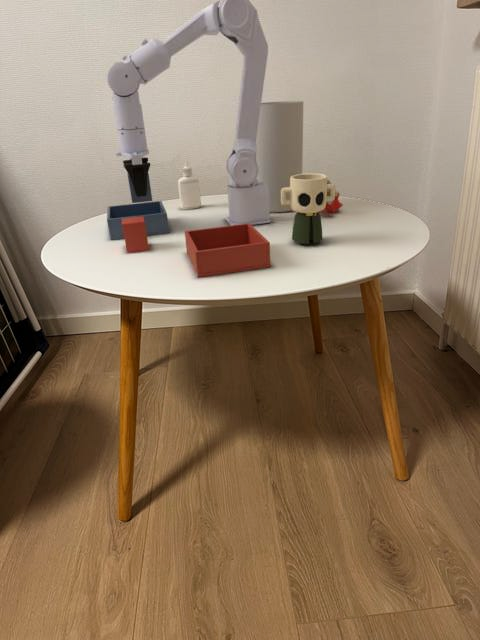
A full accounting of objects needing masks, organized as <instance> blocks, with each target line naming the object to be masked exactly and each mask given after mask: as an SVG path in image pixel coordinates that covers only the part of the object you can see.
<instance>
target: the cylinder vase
mask: <svg viewBox="0 0 480 640" xmlns="http://www.w3.org/2000/svg"><path fill="white" fill-rule="evenodd" d="M303 145H304V100H288V101H287V100H286V101H285V100H284V101H269V102H261V108H260V115H259V123H258V130H257V138H256V148H257V154H256V162H257V165H258V176H257V178H256V179H257V180H258V182H265V183H266V184H267V186H268V190H269V206H270V213H287V212H292V211H293V210H292V209H291V207H290V205H282V204H281V189H282V188H287V187H290V177H291V176H293V175H297V174H303V153H304V152H303V150H304V149H303V148H304V147H303ZM286 200H290V192H288V193H286Z"/></svg>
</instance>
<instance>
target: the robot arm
mask: <svg viewBox="0 0 480 640" xmlns="http://www.w3.org/2000/svg"><path fill="white" fill-rule="evenodd" d="M219 4H220V5H219ZM219 33H220V34H221V35H223V36H224V37H225V38H227V39H228V40H230V42H232V43H234V45H235V46H236V48H237V49H238V50H239V52H240V54H241V55H242V56H243V62H242V63H243V64H242V70H241V71H242V72H241V80H240V89H239V96H238V105H237V116H236V125H235V132H234V139H233V142H232V149H231V153H230V154H229V156H228V157H227V160H226V171H227V172H228V174H229V176H230V178H229V180H228V181H227V182H226V185H227V201H228V203H227V204H228V216H225V217H224V219H225V221H226V222H227V223H228V224H229V226H231V225H239V224H248V223H250V224H251V225H252V226H255V225H262V224H270V223H271V222H272V221H271V216H270V213H271V212H270V206H269V190H268V186H267V184H266V183H265V182H258V180H257V179H256V178H257V176H258V165H257V162H256V154H257V148H256V138H257V130H258V123H259V115H260V108H261V103H262V99H263V92H264V86H265V85H264V84H265V78H266V70H267V63H268V56H269V45H268V41H267V39H266V36H265V33H264V30H263V27H262V25H261V22H260V19H259V14H258V9H256V7H255V6H254V4H252V2H251V1H250V0H222V1H221V0H217V1H215V2H213V3H211V4H209V5H208V6H206V7H204V8H202V9H201V10H200V11H198V12H197V13H196V14H195V15H193V16H192V17H191V18H189V19H187V21H185V23H183V24H182V25H181V26H179V27H178V28H177V29H175V30H174V31H173V32H172V33H170V34H169V35H168V36H167V37H166V38H164V39H162V40H160V39H156V38H151V39H149V40H148V39H147V38H145V39H144V40H142V41H141V42H140V44H141V46H140V47H139V48H137V49H136V50H135V51H133V52H132V53H130V54H129V55H126V54H124V55H123V56H121V60H122V61H116V62H113V63H112V64H113V65H112V66H111V67H110V68H109V70H108V71H107V75H106V80H107V84H108V86H109V88H110V90H111V91H112V92H111V94H112V96H111V97H112V98H111V99H112V101H113V111H114V112H113V113H114V118H115V124H116V130H117V136H118V142H119V148H120V151H115V155H116V157H124V158H128V159H125V160H122V163H123V168H124V169H125V171H126V173H127V172H128V174H129V176H130V178H131V181H132V184H133V187H134V190H135V193H136V195H137V197H139V196H146V195H147V176H148V174H149V171H150V168H151V162H149V158H148V157H145V156H147V155H149V154H150V151H149V149H148V143H147V136H146V129H145V121H144V114H143V107H142V103H141V100H140V94H139V89H140V85H144V86H145V85H147V84H149V83H150V82H151V81H152V80H154V79H156V78H157V77H158V76H159V75H161V74H163V73H164V72H165V71H167V70H168V69H170V67H171V60H172V58H173V56H175V55H176V54H178V53H179V52H180V51H182V50H184V49H185V48H186V47H188V46H189V45H191V44H192V43H194V42H196V41H197V40H199V39H200V38H202V37H204V36H218V35H219ZM128 174H127V175H128Z"/></svg>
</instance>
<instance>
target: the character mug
mask: <svg viewBox="0 0 480 640" xmlns="http://www.w3.org/2000/svg"><path fill="white" fill-rule="evenodd" d="M327 180H328V176H327V174H325V173H316V172H315V173H313V172H312V173H311V172H309V173H307V172H306V173H302V174H297V175H293V176H291V177H290V187H287V188H282V189H281V204H282V205H290V207H291V209H292V211H293V212H296V213H295V215H294V219H293V225H292V231H291V232H292V233H291V240H292V241H294V242H295V243H297V244H301V245H309V244H310V241H312V242H313V244H317V243H320V242H321V241H323V226H322V216H321V214H320V212H321V211H322V212H323V210H324V209H325V206H326V201H333V200H334V199H335V190H336V184H335V183H331V184H327ZM327 189H331V191H330V196H327ZM288 192H290V200H286V193H288Z"/></svg>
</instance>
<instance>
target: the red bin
mask: <svg viewBox="0 0 480 640" xmlns="http://www.w3.org/2000/svg"><path fill="white" fill-rule="evenodd" d="M184 238H185V239H184V240H185V248H186V254H187V256H188V259H189V260H190V264H191V266H192V267H193V270H194V271H195V274H196V276H197V278H204V277H210V276H217V275H225V274H231V273H238V272H245V271H252V270H253V271H254V270H258V269H265V268H270V267H271V242H270V241H269V240H268V239H267V238H266V237H265V236H263V234H261V232H259V231H258V229H256V228H255V227H254V225H251V224H250V223H248V224H239V225H224V226H215V227H208V228H207V227H206V228H200V229H191V230H190V229H189V230H184Z"/></svg>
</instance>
